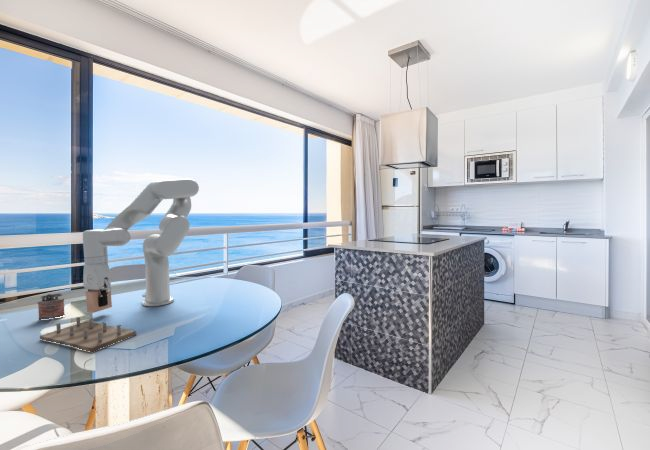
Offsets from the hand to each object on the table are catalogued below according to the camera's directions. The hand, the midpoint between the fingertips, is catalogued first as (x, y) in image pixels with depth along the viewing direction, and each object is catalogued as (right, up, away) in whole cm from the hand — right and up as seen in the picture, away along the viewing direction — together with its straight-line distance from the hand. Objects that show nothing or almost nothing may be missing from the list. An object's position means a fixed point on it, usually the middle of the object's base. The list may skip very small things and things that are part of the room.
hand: (99, 304), depth 123 cm
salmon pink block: (0, -2, 0) cm, 2 cm away
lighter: (-17, -5, -2) cm, 18 cm away
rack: (+12, -5, -21) cm, 25 cm away
